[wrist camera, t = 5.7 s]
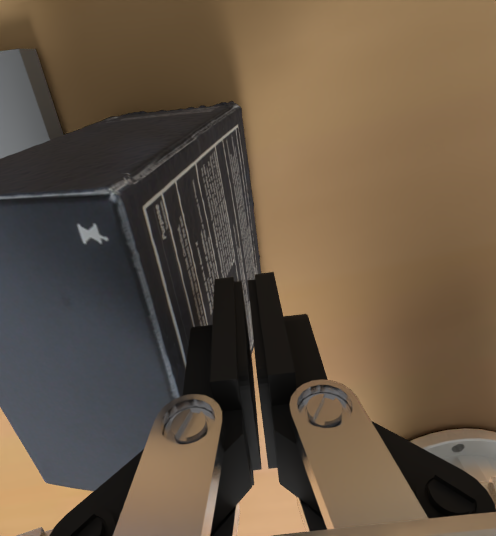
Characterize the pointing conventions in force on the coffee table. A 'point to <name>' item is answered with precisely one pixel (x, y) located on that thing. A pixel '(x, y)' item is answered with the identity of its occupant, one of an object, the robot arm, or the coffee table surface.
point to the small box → (115, 277)
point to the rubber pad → (24, 103)
